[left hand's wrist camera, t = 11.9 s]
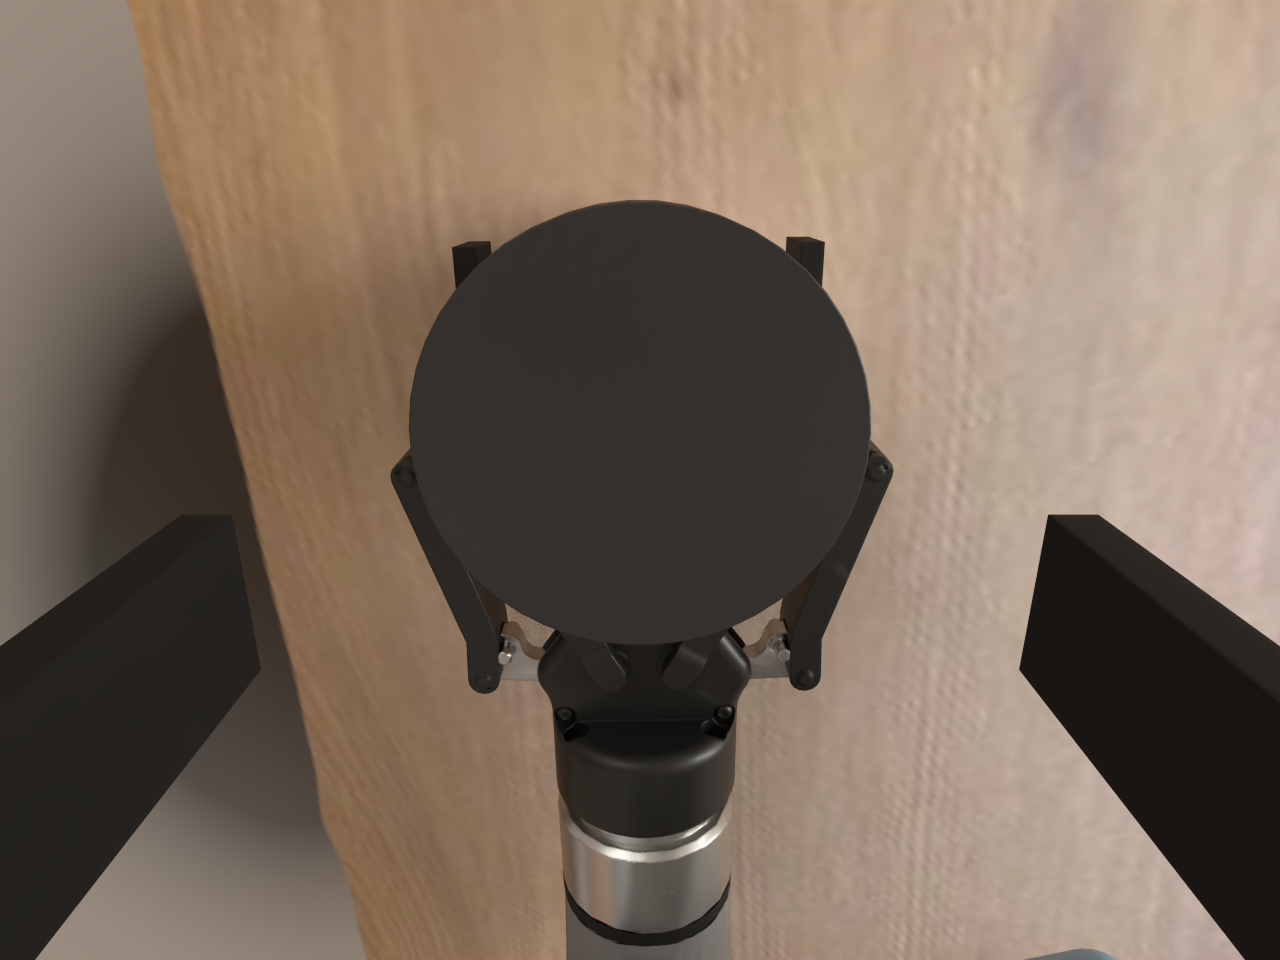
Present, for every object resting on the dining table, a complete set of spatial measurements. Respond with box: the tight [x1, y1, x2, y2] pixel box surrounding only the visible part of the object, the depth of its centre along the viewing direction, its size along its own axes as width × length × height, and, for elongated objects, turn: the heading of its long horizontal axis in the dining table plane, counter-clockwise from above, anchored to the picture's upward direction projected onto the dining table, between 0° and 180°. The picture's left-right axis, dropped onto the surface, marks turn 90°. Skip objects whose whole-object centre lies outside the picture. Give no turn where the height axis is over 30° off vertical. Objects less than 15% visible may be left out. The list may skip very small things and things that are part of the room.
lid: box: [409, 200, 871, 645], centre depth 21 cm, size 11×11×2 cm
